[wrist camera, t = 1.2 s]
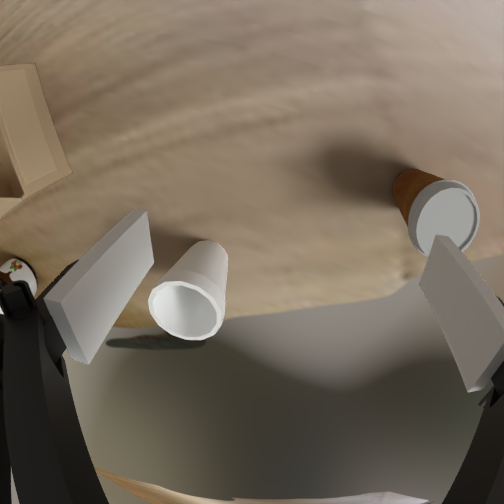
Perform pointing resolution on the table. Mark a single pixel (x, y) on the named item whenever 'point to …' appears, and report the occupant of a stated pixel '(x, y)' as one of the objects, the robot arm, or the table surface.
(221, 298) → the foam cup
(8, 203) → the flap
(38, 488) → the robot arm
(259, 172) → the table surface
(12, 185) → the carton
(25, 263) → the spread jar
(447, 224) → the disposable coffee cup
